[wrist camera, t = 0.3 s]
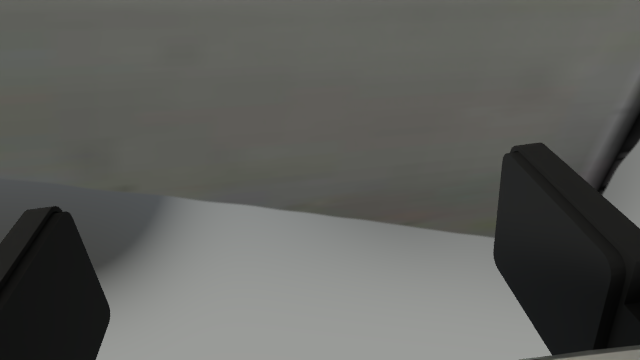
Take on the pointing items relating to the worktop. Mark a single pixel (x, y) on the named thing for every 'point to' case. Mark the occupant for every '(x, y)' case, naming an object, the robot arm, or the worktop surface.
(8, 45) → the worktop surface
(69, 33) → the worktop surface
